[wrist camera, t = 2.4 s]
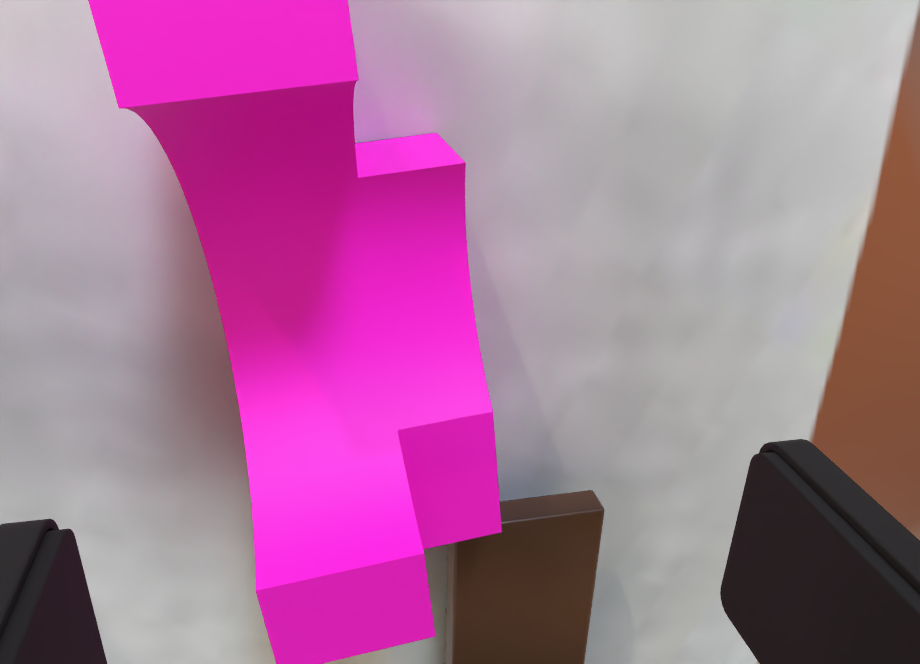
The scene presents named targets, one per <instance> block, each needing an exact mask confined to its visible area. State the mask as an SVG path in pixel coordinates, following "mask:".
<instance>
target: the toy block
mask: <svg viewBox="0 0 920 664" xmlns="http://www.w3.org/2000/svg"><path fill="white" fill-rule="evenodd" d="M88 1H89V4H90V8H91V11H92V15H93V19H94V22H95V26H96V29H97V33H98V36H99V40H100V43H101V47H102V50H103V54H104V57H105V61H106V64H107V68H108V71H109V75H110V78H111V82H112V86H113V89H114V93H115V96H116V100H117V103H118V107H119V108H127V109H129V110H131V111H133V112H135V113H136V114H138V115H139V116H140V117H141V118H142V119H143V120H144V121H145V122H146V123H147V125H148V126H149V127H150V128H151V130H152V131H153V133H154V134H155V136H156V137H157V139H158V140H159V142H160V144H161V145H162V147H163V149H164V151H165V153H166V154H167V156H168V158H169V160H170V163H171V165H172V167H173V169H174V171H175V173H176V176H177V178H178V180H179V183H180V185H181V187H182V190H183V192H184V195H185V198H186V200H187V203H188V205H189V208H190V211H191V214H192V217H193V220H194V222H195V225H196V228H197V232H198V235H199V238H200V241H201V244H202V247H203V251H204V254H205V257H206V261H207V264H208V268H209V271H210V275H211V279H212V282H213V286H214V290H215V294H216V298H217V302H218V306H219V310H220V314H221V319H222V323H223V327H224V332H225V336H226V341H227V346H228V350H229V355H230V360H231V365H232V371H233V376H234V381H235V387H236V392H237V398H238V404H239V410H240V416H241V423H242V430H243V436H244V444H245V451H246V459H247V467H248V476H249V485H250V495H251V505H252V517H253V531H254V547H255V576H256V594H257V597H258V601H259V604H260V608H261V611H262V615H263V618H264V622H265V625H266V629H267V632H268V636H269V639H270V643H271V646H272V650H273V653H274V657H275V661H276V664H322V663H326V662H331V661H335V660H339V659H343V658H347V657H351V656H356V655H360V654H364V653H368V652H372V651H376V650H380V649H385V648H389V647H393V646H397V645H401V644H405V643H410V642H414V641H418V640H422V639H426V638H430V637H434V636H435V629H434V622H433V615H432V607H431V600H430V593H429V586H428V578H427V571H426V564H425V557H424V551H423V549H427V548H432V547H437V546H441V545H446V544H450V543H455V542H459V541H464V540H468V539H473V538H477V537H482V536H486V535H491V534H495V533H500V532H502V528H501V515H500V501H499V487H498V474H497V460H496V447H495V433H494V420H493V410H492V405H491V401H490V397H489V392H488V388H487V383H486V378H485V373H484V368H483V363H482V357H481V352H480V347H479V341H478V335H477V329H476V322H475V315H474V308H473V301H472V293H471V285H470V275H469V266H468V254H467V240H466V223H465V162H464V161H463V160H462V159H461V158H460V157H459V156H458V155H457V154H456V153H455V152H454V151H453V149H452V148H451V147H450V146H449V145H448V144H447V143H446V142H445V141H444V140H443V139H442V138H441V137H440V136H439V135H438V134H437V133H431V134H424V135H416V136H408V137H401V138H393V139H386V140H378V141H371V142H363V143H355V138H354V121H353V93H354V86H355V83H356V81H358V80H359V79H358V72H357V64H356V57H355V50H354V43H353V36H352V28H351V21H350V14H349V7H348V0H88Z"/></svg>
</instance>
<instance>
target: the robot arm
mask: <svg viewBox="0 0 920 664" xmlns="http://www.w3.org/2000/svg"><path fill="white" fill-rule="evenodd" d="M720 593H721V601H722V605H723V608H724V611H725V613H726V614H727V616H728V618H729V619H730V621H731V622H732V623H733V625H734V626H735V628H736V629H737V631H738V632H739V634H740V635H741V637H742V638H743V640H744V641H745V643H746V644H747V645H748V647H749V648H750V650H751V651H752V653H753V654H754V656H755V657H756V659H757V660H758V662H759V663H760V664H920V541H919V540H918V539H917V538H916V537H915V536H914V535H913V534H912V533H911V532H909V531H908V530H907V529H906V528H905V527H904V526H903V525H902V524H901V523H899V522H898V521H897V520H896V519H895V518H894V517H893V516H892V515H891V514H889V513H888V512H887V511H886V510H885V509H884V508H883V507H882V506H881V505H879V504H878V503H877V502H876V501H875V500H874V499H873V498H872V497H871V496H869V495H868V494H867V493H866V492H865V491H864V490H863V489H862V488H861V487H860V486H859V485H857V484H856V483H855V482H854V481H853V480H852V479H851V478H850V477H849V476H847V475H846V474H845V473H844V472H843V471H842V470H841V469H840V468H838V466H836V465H835V464H834V463H833V462H832V461H831V460H830V459H829V458H828V457H826V456H825V455H824V454H823V453H822V452H821V451H820V450H819V449H818V448H817V447H815V446H814V445H813V444H812V443H810V442H809V441H807V440H803V439H798V440H788V441H779V442H770V443H767V444H764V445H763V447H762V448H761V449H760V452H759V454H756V455H754V456H753V457H752V459H751V462H750V466H749V470H748V474H747V478H746V483H745V487H744V491H743V496H742V500H741V504H740V508H739V513H738V517H737V521H736V525H735V530H734V534H733V538H732V542H731V547H730V551H729V555H728V560H727V564H726V568H725V572H724V577H723V581H722V585H721V592H720ZM0 664H107V661H106V657H105V653H104V649H103V645H102V641H101V637H100V634H99V630H98V626H97V622H96V618H95V614H94V610H93V606H92V602H91V598H90V594H89V590H88V586H87V582H86V578H85V574H84V570H83V566H82V562H81V558H80V555H79V551H78V547H77V543H76V539H75V536H74V533H73V531H72V530H71V529H62V530H59V529H58V526H57V524H56V522H55V521H54V520H52V519H44V520H35V521H26V522H16V523H7V524H2V525H0Z"/></svg>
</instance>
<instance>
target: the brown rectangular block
mask: <svg viewBox="0 0 920 664" xmlns="http://www.w3.org/2000/svg"><path fill="white" fill-rule="evenodd" d="M500 515H501V528H502V532H500V533H495V534H491V535H486V536H482V537H477V538H473V539H468V540H464V541H459V542H455V543H450V544H448V574H447V608H446V618H445V664H584V659H585V652H586V644H587V637H588V629H589V622H590V614H591V607H592V599H593V592H594V584H595V577H596V569H597V562H598V554H599V547H600V539H601V532H602V524H603V516H604V508H603V506H602V505H601V503H600V501H599V500H598V498H597V497H596V495H595V493H594V492H593V491H592V490H588V491H580V492H572V493H564V494H556V495H548V496H541V497H533V498H525V499H517V500H509V501H501V502H500Z"/></svg>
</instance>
